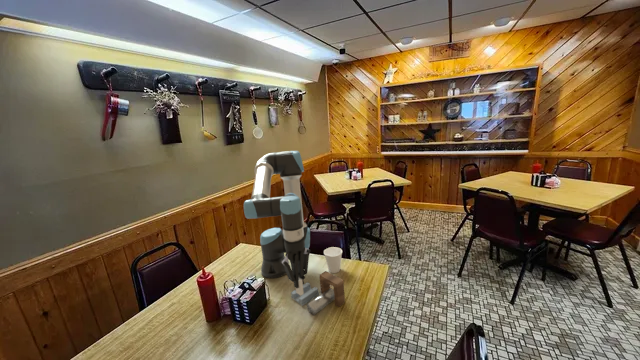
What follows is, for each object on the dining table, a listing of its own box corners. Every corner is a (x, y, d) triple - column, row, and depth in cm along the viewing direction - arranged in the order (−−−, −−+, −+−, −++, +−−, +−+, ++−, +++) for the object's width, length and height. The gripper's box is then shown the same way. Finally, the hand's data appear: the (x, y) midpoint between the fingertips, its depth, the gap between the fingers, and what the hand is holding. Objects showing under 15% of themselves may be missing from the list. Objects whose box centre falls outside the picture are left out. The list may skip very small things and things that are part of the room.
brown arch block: (321, 295, 117) (319, 274, 114) (327, 291, 119) (325, 270, 117) (338, 307, 109) (337, 284, 106) (344, 302, 111) (343, 280, 109)
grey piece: (316, 316, 104) (313, 305, 104) (308, 313, 108) (305, 302, 107) (337, 300, 113) (335, 289, 112) (329, 297, 116) (327, 287, 116)
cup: (343, 264, 140) (342, 246, 138) (343, 275, 131) (342, 256, 128) (325, 265, 141) (324, 247, 139) (324, 275, 132) (322, 256, 129)
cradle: (291, 297, 117) (290, 292, 116) (307, 287, 123) (307, 281, 123) (302, 306, 111) (301, 300, 110) (318, 294, 118) (318, 288, 117)
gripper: (285, 247, 87) (292, 306, 92) (313, 234, 96) (318, 289, 101) (273, 241, 92) (280, 297, 98) (301, 229, 101) (306, 281, 106)
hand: (300, 293), depth 99 cm, fingers closed
